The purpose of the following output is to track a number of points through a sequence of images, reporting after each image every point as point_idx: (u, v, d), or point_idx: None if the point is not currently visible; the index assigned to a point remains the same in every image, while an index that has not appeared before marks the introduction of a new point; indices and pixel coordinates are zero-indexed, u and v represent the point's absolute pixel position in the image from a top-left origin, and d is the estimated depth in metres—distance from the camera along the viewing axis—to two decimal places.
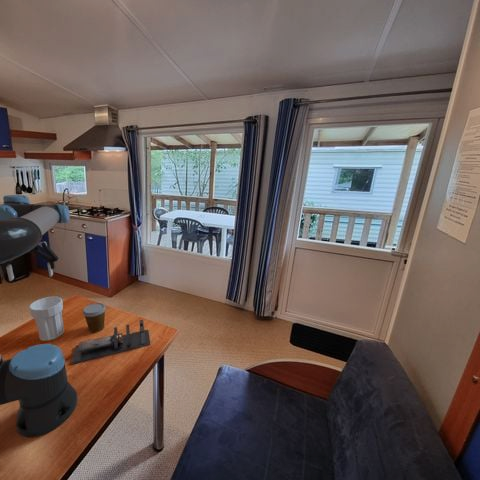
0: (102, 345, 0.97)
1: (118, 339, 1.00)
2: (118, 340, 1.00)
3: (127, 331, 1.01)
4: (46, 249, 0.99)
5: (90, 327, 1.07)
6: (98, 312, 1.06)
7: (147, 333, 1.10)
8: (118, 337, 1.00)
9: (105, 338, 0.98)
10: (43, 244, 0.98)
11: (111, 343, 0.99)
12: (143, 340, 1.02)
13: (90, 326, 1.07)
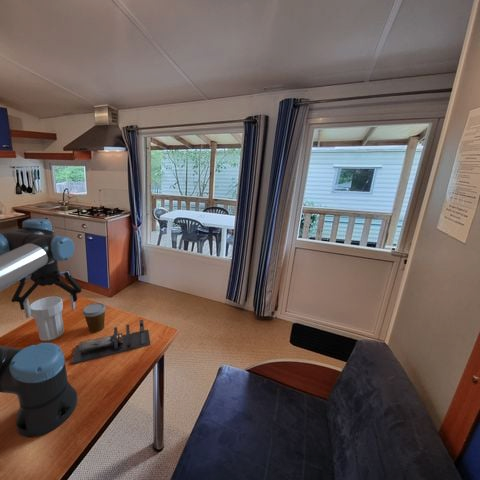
0: (102, 345, 0.97)
1: (118, 339, 1.00)
2: (118, 340, 1.00)
3: (127, 331, 1.01)
4: (69, 280, 0.85)
5: (90, 327, 1.07)
6: (98, 312, 1.06)
7: (147, 333, 1.10)
8: (118, 337, 1.00)
9: (105, 338, 0.98)
10: (66, 274, 0.84)
11: (111, 343, 0.99)
12: (143, 340, 1.02)
13: (90, 326, 1.07)
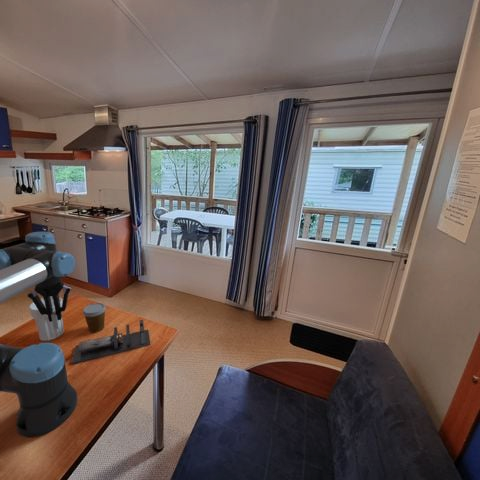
0: (102, 345, 0.97)
1: (118, 339, 1.00)
2: (118, 340, 1.00)
3: (127, 331, 1.01)
4: (65, 296, 0.86)
5: (90, 327, 1.07)
6: (98, 312, 1.06)
7: (147, 333, 1.10)
8: (118, 337, 1.00)
9: (105, 338, 0.98)
10: (68, 290, 0.86)
11: (111, 343, 0.99)
12: (143, 340, 1.02)
13: (90, 326, 1.07)
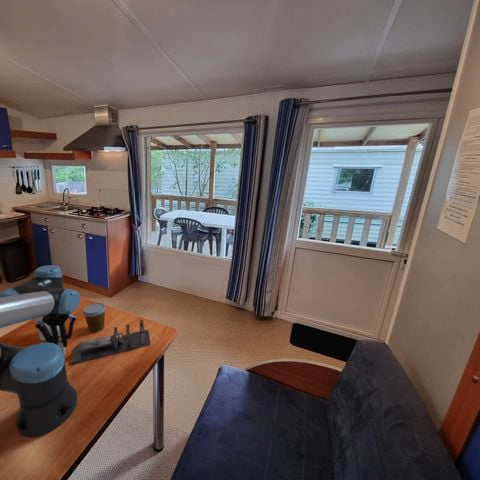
0: (102, 345, 0.97)
1: (118, 339, 1.00)
2: (118, 340, 1.00)
3: (127, 331, 1.01)
4: (71, 325, 0.90)
5: (90, 327, 1.07)
6: (98, 312, 1.06)
7: (147, 333, 1.10)
8: (118, 337, 1.00)
9: (105, 338, 0.98)
10: (73, 319, 0.89)
11: (111, 343, 0.99)
12: (143, 340, 1.02)
13: (90, 326, 1.07)
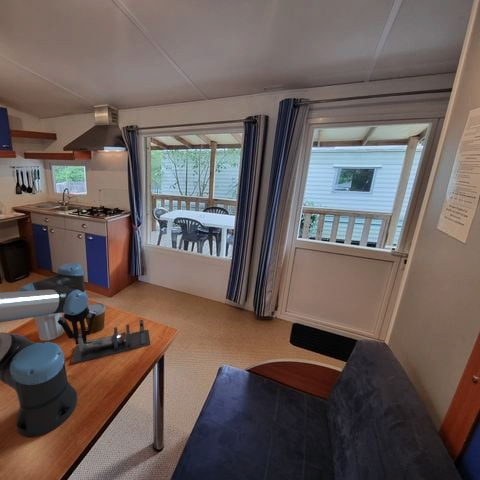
0: (106, 344, 0.98)
1: (122, 338, 1.00)
2: (122, 339, 1.00)
3: (127, 331, 1.01)
4: (91, 321, 0.93)
5: None
6: (98, 312, 1.06)
7: (147, 333, 1.10)
8: (122, 336, 1.01)
9: (109, 337, 0.99)
10: (93, 316, 0.93)
11: None
12: (143, 340, 1.02)
13: None
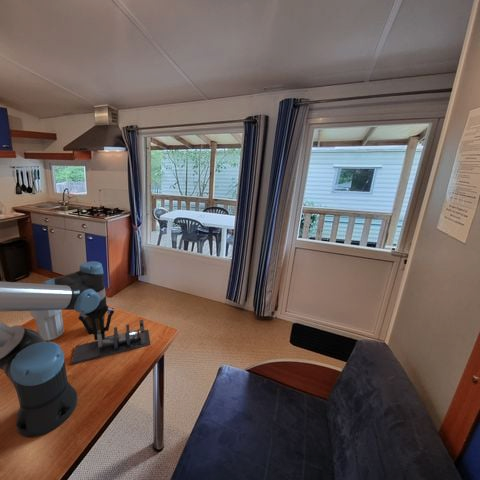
0: (123, 340, 1.01)
1: (138, 334, 1.03)
2: (138, 335, 1.03)
3: (127, 331, 1.01)
4: (109, 317, 0.96)
5: None
6: None
7: (147, 333, 1.10)
8: (138, 332, 1.04)
9: None
10: (112, 312, 0.96)
11: (131, 338, 1.02)
12: (143, 340, 1.02)
13: None
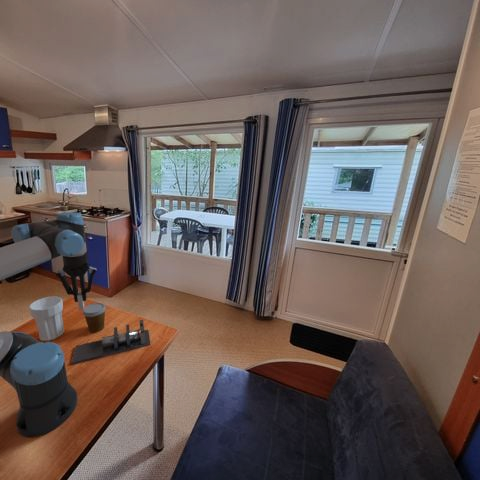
0: (123, 340, 1.01)
1: (138, 334, 1.03)
2: (138, 335, 1.03)
3: (127, 331, 1.01)
4: (91, 277, 0.88)
5: (90, 327, 1.07)
6: (98, 312, 1.06)
7: (147, 333, 1.10)
8: (138, 332, 1.04)
9: None
10: (93, 271, 0.87)
11: (131, 338, 1.02)
12: (143, 340, 1.02)
13: (90, 326, 1.07)
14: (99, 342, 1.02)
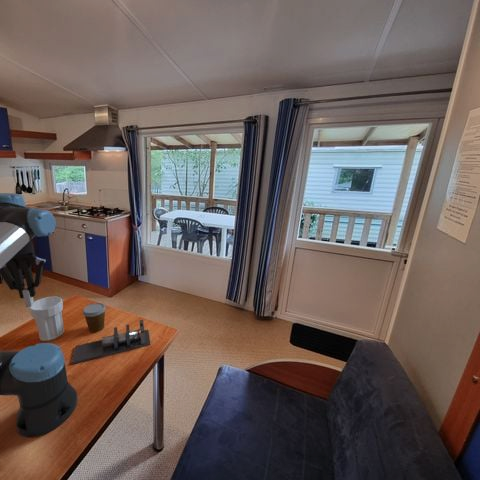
0: (123, 340, 1.01)
1: (138, 334, 1.03)
2: (138, 335, 1.03)
3: (127, 331, 1.01)
4: (39, 269, 0.76)
5: (90, 327, 1.07)
6: (98, 312, 1.06)
7: (147, 333, 1.10)
8: (138, 332, 1.04)
9: None
10: (41, 263, 0.76)
11: (131, 338, 1.02)
12: (143, 340, 1.02)
13: (90, 326, 1.07)
14: (99, 342, 1.02)
